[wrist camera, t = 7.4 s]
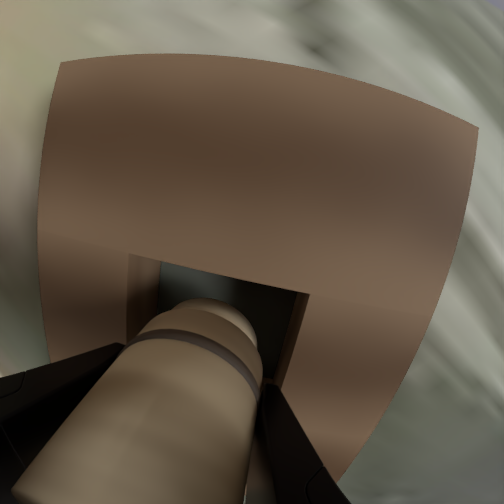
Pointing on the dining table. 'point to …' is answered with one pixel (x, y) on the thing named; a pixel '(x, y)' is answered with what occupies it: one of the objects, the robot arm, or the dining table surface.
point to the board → (254, 216)
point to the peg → (161, 418)
